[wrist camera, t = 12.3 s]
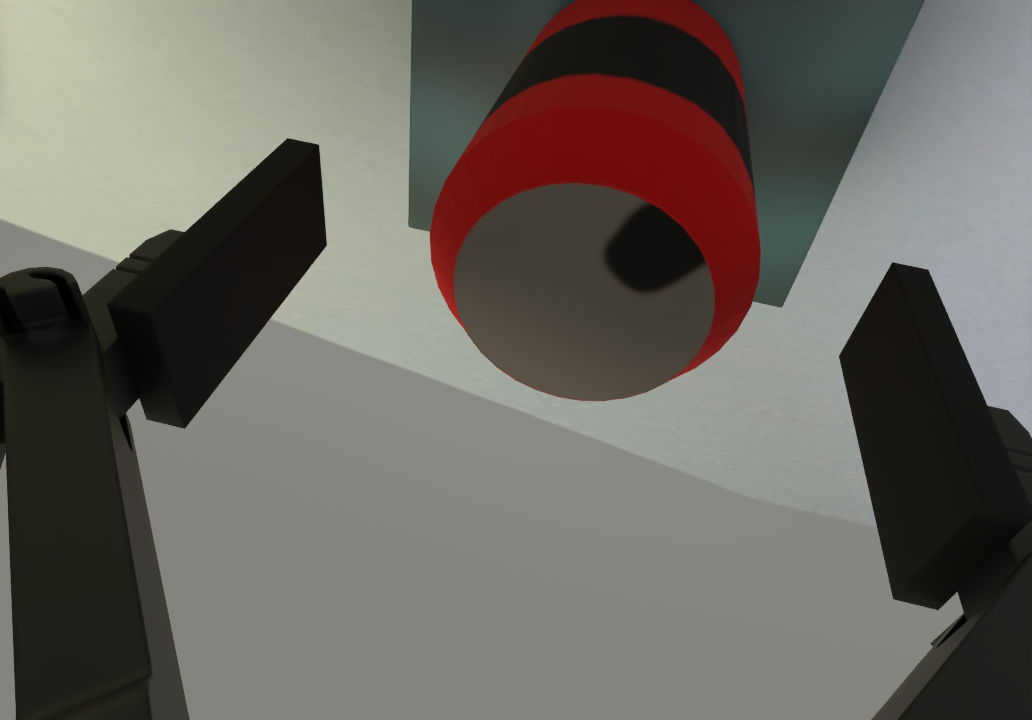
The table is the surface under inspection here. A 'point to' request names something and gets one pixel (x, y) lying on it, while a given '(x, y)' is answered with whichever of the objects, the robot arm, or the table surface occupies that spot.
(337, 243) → the table surface
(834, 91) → the footstool
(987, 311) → the table surface
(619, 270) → the soda can
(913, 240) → the table surface
